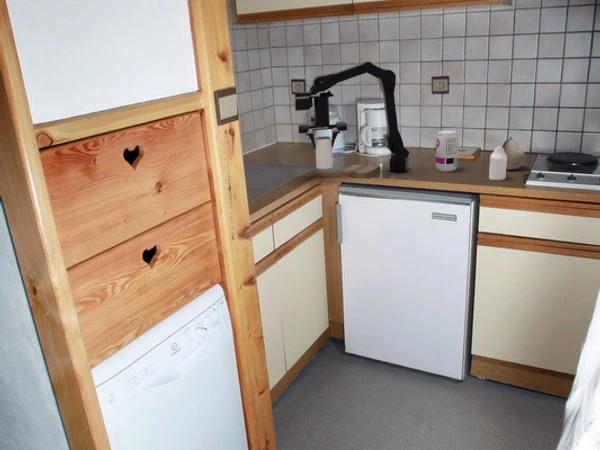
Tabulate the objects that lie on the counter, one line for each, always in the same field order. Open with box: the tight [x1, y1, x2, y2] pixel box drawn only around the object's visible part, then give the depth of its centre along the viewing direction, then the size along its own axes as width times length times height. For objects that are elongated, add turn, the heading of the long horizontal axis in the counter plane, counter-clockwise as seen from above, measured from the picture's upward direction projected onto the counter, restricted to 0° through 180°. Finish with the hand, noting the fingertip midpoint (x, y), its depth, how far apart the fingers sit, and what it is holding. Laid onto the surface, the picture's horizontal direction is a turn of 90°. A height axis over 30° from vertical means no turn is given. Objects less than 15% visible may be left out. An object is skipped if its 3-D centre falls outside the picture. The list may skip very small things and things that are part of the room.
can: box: [315, 135, 334, 171], centre depth 214 cm, size 6×6×12 cm
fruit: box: [501, 136, 526, 171], centre depth 210 cm, size 10×9×12 cm
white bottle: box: [488, 145, 507, 181], centre depth 198 cm, size 6×12×6 cm
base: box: [340, 164, 381, 179], centre depth 218 cm, size 12×12×2 cm
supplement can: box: [435, 129, 459, 173], centre depth 214 cm, size 8×8×15 cm
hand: (323, 149), depth 214 cm, fingers closed on can, 6 cm apart
